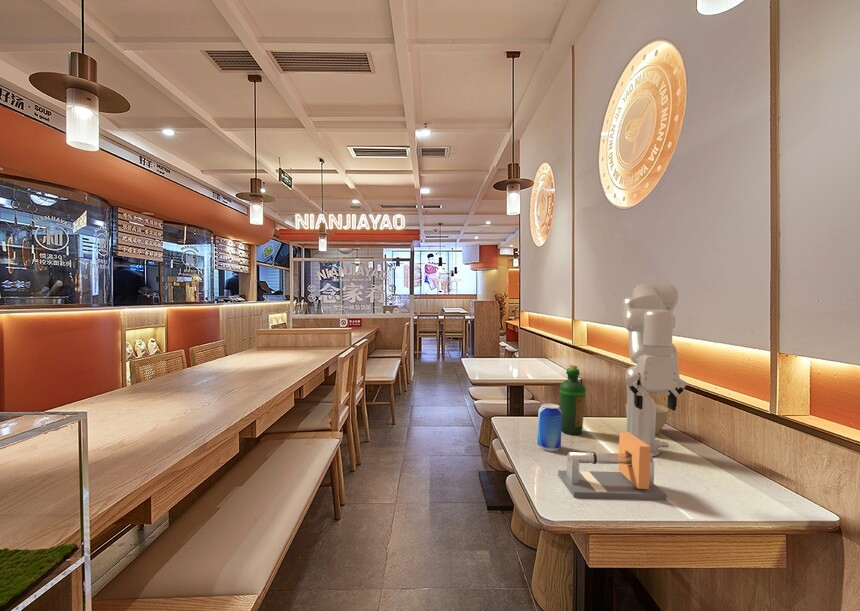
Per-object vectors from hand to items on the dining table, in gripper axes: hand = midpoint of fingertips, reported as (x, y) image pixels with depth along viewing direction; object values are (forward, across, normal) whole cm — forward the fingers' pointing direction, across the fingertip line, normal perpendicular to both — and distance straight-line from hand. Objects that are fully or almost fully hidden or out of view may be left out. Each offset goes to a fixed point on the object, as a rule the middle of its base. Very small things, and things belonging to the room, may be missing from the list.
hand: (655, 408), depth 118 cm
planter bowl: (+23, -24, -52) cm, 62 cm away
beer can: (+24, +23, -29) cm, 44 cm away
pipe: (+22, +13, +1) cm, 26 cm away
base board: (+24, +13, +1) cm, 27 cm away
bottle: (+24, +8, -48) cm, 54 cm away
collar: (+21, +6, +1) cm, 22 cm away
